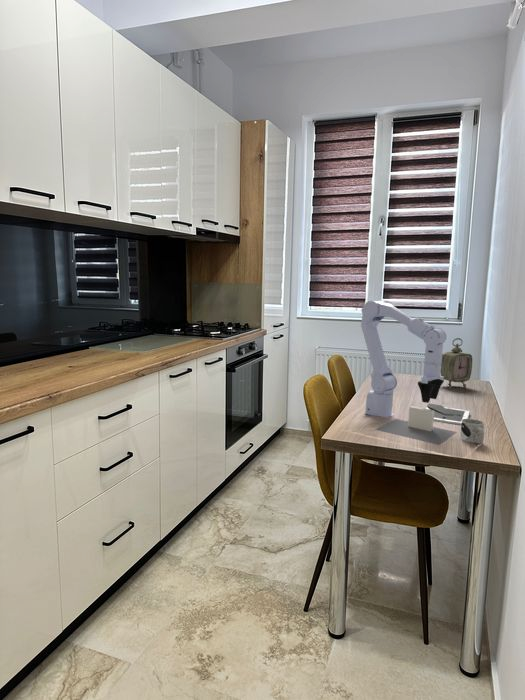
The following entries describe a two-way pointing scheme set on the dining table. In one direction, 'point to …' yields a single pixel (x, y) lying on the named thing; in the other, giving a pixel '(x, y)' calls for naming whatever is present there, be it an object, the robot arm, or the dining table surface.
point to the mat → (416, 432)
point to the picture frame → (448, 414)
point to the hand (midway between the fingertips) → (429, 400)
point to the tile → (421, 418)
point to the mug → (472, 431)
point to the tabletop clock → (456, 365)
